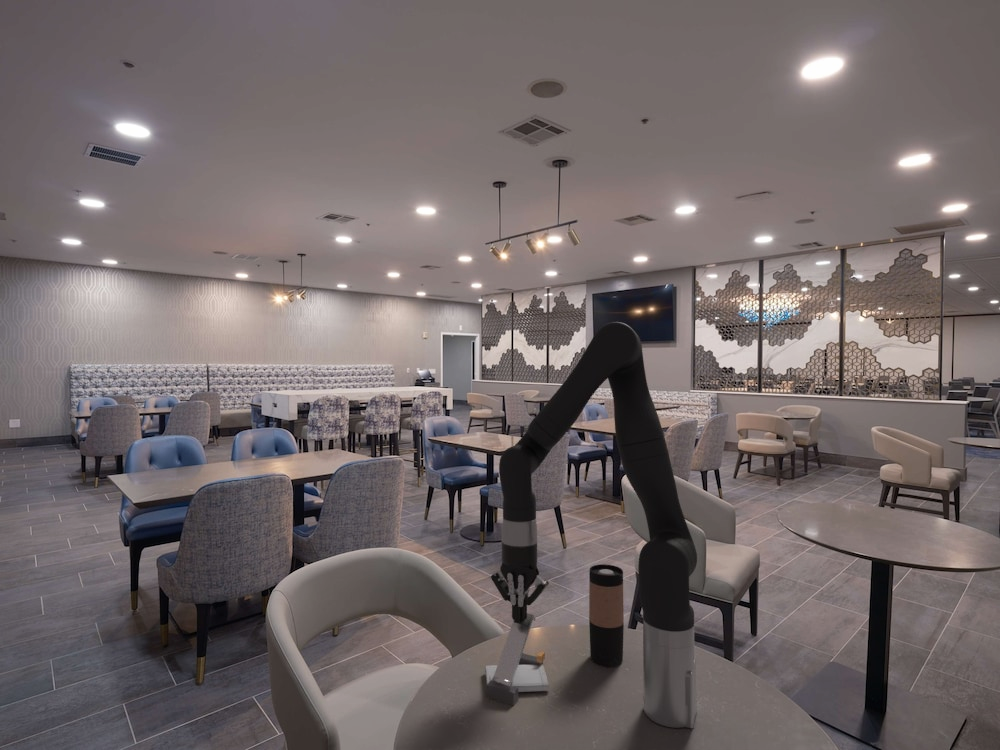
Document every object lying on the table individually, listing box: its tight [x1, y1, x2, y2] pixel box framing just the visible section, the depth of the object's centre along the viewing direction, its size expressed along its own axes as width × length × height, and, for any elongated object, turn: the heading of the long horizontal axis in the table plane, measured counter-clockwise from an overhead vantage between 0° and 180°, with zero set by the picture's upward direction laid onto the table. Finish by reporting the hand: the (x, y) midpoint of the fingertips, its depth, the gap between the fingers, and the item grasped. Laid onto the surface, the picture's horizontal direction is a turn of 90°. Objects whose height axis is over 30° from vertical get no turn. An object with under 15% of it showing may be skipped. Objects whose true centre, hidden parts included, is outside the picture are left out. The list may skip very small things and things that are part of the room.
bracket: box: [486, 651, 546, 707], centre depth 110 cm, size 7×15×4 cm, turn 153°
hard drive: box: [484, 663, 550, 693], centre depth 110 cm, size 2×8×12 cm
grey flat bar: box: [492, 612, 536, 687], centre depth 110 cm, size 4×15×2 cm
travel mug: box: [588, 563, 625, 668], centre depth 120 cm, size 8×8×20 cm
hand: (519, 622), depth 112 cm, fingers closed
